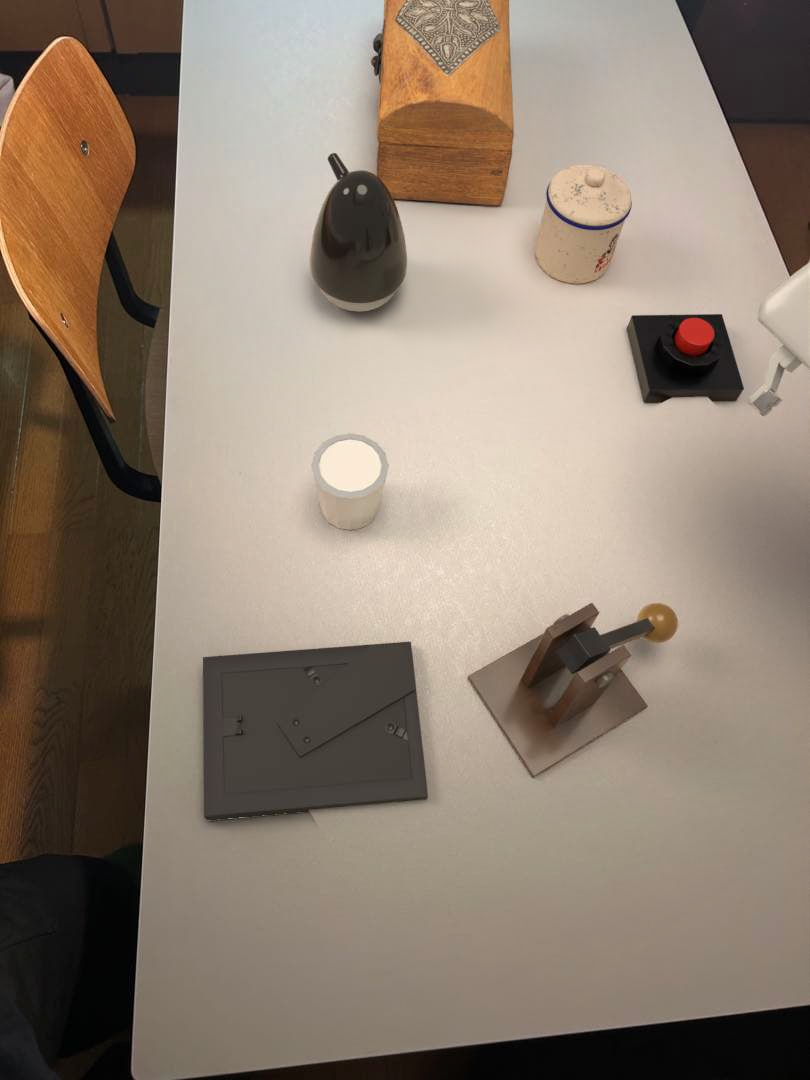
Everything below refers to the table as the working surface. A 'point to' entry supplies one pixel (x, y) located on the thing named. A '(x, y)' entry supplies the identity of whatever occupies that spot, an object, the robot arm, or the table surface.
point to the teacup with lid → (581, 223)
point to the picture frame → (310, 730)
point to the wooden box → (445, 100)
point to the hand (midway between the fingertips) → (798, 452)
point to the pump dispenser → (358, 241)
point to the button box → (682, 360)
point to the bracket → (556, 695)
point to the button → (694, 336)
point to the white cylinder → (349, 479)
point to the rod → (618, 637)
